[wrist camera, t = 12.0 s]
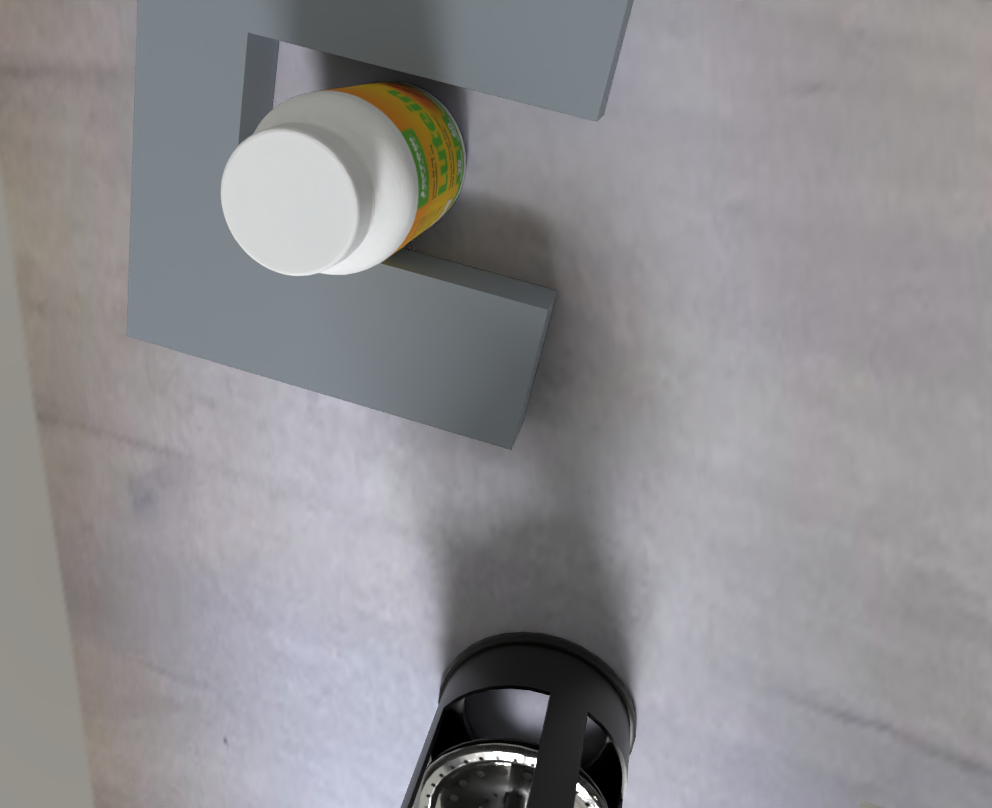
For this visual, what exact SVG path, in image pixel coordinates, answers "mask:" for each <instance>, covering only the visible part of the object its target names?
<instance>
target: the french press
mask: <svg viewBox="0 0 992 808" xmlns="http://www.w3.org/2000/svg"><path fill="white" fill-rule="evenodd" d="M510 688H511V689H521V690H531V691H534V692H538V693H542V694H546V695H550V697H549V701H548V706H547V711H546V716H545V721H544V725H543V730H542V735H541V740H540V744H537V743H533V742H529V741H524V740H519V739H510V738H481V739H476V738H475V736H474V734H473V733H472V731H471V729H470V727H469V725H468V722H467V719H466V716H465V705H464V704H465V698H466V697H468V696H471V695H473V694H476V693H480V692H484V691H488V690H494V689H510ZM438 703H439V706H438V708H437V711H436V714H435V716H434V719H433V722H432V724H431V727H430V730H429V732H428V735H427V738H426V741H425V743H424V746H423V749H422V751H421V754H420V757H419V759H418V762H417V765H416V768H415V770H414V773H413V776H412V778H411V781H410V784H409V786H408V789H407V792H406V794H405V797H404V800H403V803H402V805H401V808H412V807H413V808H622V801H623V797H624V794H625V790H626V787H627V775H628V763H629V755H630V753H631V752H632V748H633V744H634V741H635V737H636V716H635V711H634V707H633V703H632V700H631V698H630V696H629V694H628V692H627V690H626V688H625V686H624V684H623V683H622V682H621V680H620V679H619V678H618V676H617V675H616V674H615V673H614V671H613V670H612V669H611V668H610V667H608V666H607V665H606V664H605V663H604V662H603V661H602V660H600V659H599V658H598V657H597V656H595V655H593V654H592V653H590V652H589V651H587V650H585V649H584V648H582V647H580V646H578V645H576V644H573V643H571V642H569V641H566V640H564V639H561V638H557V637H553V636H549V635H545V634H537V633H525V632H520V633H508V634H501V635H497V636H494V637H490V638H486V639H484V640H482V641H480V642H478V643H476V644H474V645H472V646H470V647H469V648H468V649H466V650H465V651H464V652H463V653H461V654H460V655H459V656H458V657H457V658H456V659H455V660H454V662H453V663H452V664H451V666H450V667H449V668H448V670H447V672H446V674H445V677H444V679H443V681H442V684H441V687H440V693H439V700H438ZM587 716H588V717H589V718H591V719H592V720H593V721H594V722H595V723H596V724H597V725H599V726H600V727H601V729H602V730H603V731H604V732H605V734H606V735H607V737H606V741H605V743H604V745H603V747H602V748H601V750H600V751H599V752H598V754H597V755H596V756H595V757H594V758H593V759H592V760H590V761H588V762H587V763H585V764H584V765H582V766H580V763H581V756H582V749H583V742H584V736H585V729H586V722H587ZM428 764H429V765H428ZM427 765H428V766H427ZM426 767H427V768H426Z"/></svg>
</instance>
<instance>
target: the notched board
mask: <svg viewBox="0 0 992 808" xmlns="http://www.w3.org/2000/svg"><path fill="white" fill-rule="evenodd" d="M632 4H633V0H138V6H137V36H136V66H135V96H134V126H133V156H132V186H131V216H130V246H129V276H128V306H127V336H128V337H132V338H135V339H139V340H142V341H145V342H149V343H152V344H156V345H159V346H162V347H166V348H169V349H172V350H176V351H179V352H183V353H186V354H189V355H193V356H196V357H199V358H203V359H206V360H210V361H213V362H216V363H220V364H223V365H226V366H230V367H233V368H237V369H240V370H243V371H247V372H250V373H254V374H257V375H260V376H264V377H267V378H270V379H274V380H277V381H281V382H284V383H287V384H291V385H294V386H297V387H301V388H304V389H308V390H311V391H314V392H318V393H321V394H324V395H328V396H331V397H335V398H338V399H341V400H345V401H348V402H351V403H355V404H358V405H362V406H365V407H368V408H372V409H375V410H379V411H382V412H385V413H389V414H392V415H395V416H399V417H402V418H406V419H409V420H412V421H416V422H419V423H422V424H426V425H429V426H433V427H436V428H439V429H443V430H446V431H449V432H453V433H456V434H460V435H463V436H466V437H470V438H473V439H476V440H480V441H483V442H487V443H490V444H493V445H497V446H500V447H504V448H507V449H510V450H512V447H513V445H514V443H515V440H516V438H517V436H518V433H519V431H520V429H521V426H522V424H523V421H524V417H525V413H526V409H527V405H528V401H529V398H530V394H531V390H532V386H533V382H534V379H535V375H536V371H537V367H538V363H539V359H540V356H541V352H542V348H543V344H544V340H545V337H546V333H547V329H548V325H549V321H550V317H551V314H552V310H553V306H554V302H555V298H556V294H557V291H556V290H552V289H549V288H545V287H541V286H538V285H534V284H531V283H527V282H523V281H520V280H516V279H513V278H509V277H505V276H502V275H498V274H494V273H491V272H487V271H484V270H480V269H476V268H473V267H469V266H466V265H462V264H458V263H455V262H451V261H447V260H444V259H440V258H437V257H433V256H429V255H426V254H422V253H419V252H415V251H411V250H408V249H404V248H401V249H400V250H398V251H397V252H395V253H394V254H392V255H391V256H390V257H388V258H387V259H385V260H384V261H383V262H381V263H379V264H377V265H375V266H373V267H371V268H369V269H366V270H363V271H360V272H357V273H352V274H347V275H330V274H323V273H316V274H312V275H306V276H292V275H285V274H281V273H278V272H275V271H273V270H270V269H268V268H266V267H264V266H263V265H261V264H260V263H258V262H257V261H255V260H254V259H252V258H251V257H250V256H249V255H248V254H247V253H246V252H245V251H244V250H243V249H242V248H241V246H240V245H239V244H238V242H237V241H236V240H235V238H234V236H233V235H232V233H231V231H230V229H229V227H228V225H227V222H226V219H225V216H224V213H223V209H222V203H221V181H222V176H223V173H224V169H225V166H226V164H227V161H228V160H229V158H230V156H231V154H232V153H233V151H234V150H235V149H236V147H237V146H238V145H239V144H240V143H241V142H242V141H244V140H245V139H246V138H247V137H249V136H251V135H252V134H254V132H255V130H256V128H257V127H258V125H259V124H260V122H261V121H262V120H263V118H264V117H265V116H266V115H267V114H268V113H269V112H270V111H271V110H272V107H273V97H274V87H275V77H276V67H277V57H278V47H279V41H283V42H287V43H291V44H295V45H299V46H303V47H307V48H311V49H315V50H318V51H322V52H326V53H330V54H334V55H338V56H342V57H346V58H350V59H354V60H357V61H361V62H365V63H369V64H373V65H377V66H381V67H385V68H389V69H393V70H397V71H400V72H404V73H408V74H412V75H416V76H420V77H424V78H428V79H432V80H436V81H439V82H443V83H447V84H451V85H455V86H459V87H463V88H467V89H471V90H475V91H478V92H482V93H486V94H490V95H494V96H498V97H502V98H506V99H510V100H514V101H518V102H521V103H525V104H529V105H533V106H537V107H541V108H545V109H549V110H553V111H557V112H560V113H564V114H568V115H572V116H576V117H580V118H584V119H588V120H592V121H596V122H597V121H598V120H599V119H600V118H601V117H602V116H603V115H604V111H605V107H606V104H607V100H608V96H609V92H610V88H611V84H612V81H613V77H614V73H615V69H616V65H617V62H618V58H619V54H620V50H621V46H622V42H623V39H624V35H625V31H626V27H627V23H628V20H629V16H630V12H631V8H632Z"/></svg>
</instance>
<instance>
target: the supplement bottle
mask: <svg viewBox="0 0 992 808" xmlns="http://www.w3.org/2000/svg"><path fill="white" fill-rule="evenodd" d="M465 170H466V154H465V147H464V142H463V138H462V135H461V133H460V130H459V128H458V126H457V124H456V122H455V120H454V118H453V117H452V115H451V114H450V112H449V111H448V110H447V109H446V107H445V106H444V105H443V104H442V103H441V102H440V101H439V100H438V99H436V98H435V97H434V96H433V95H431V94H430V93H428V92H427V91H425V90H423V89H421V88H419V87H416V86H414V85H411V84H408V83H403V82H376V83H369V84H363V85H357V86H350V87H343V88H335V89H328V90H320V91H315V92H310V93H305V94H302V95H298V96H295V97H292V98H290V99H288V100H286V101H284V102H282V103H281V104H279V105H278V106H277V107H275V108H274V109H273V110H271V111H270V112H269V113H268V114H267V115H266V116H265V117H264V118H263V120H262V121H261V122H260V124H259V125H258V127H257V128H256V130H255V132H254V134H252V135H251V136H249V137H247V138H246V139H245V140H244V141H242V142H241V143H240V144H239V145H238V146H237V147H236V149H235V150H234V151H233V153H232V154H231V156H230V158H229V160H228V161H227V164H226V166H225V169H224V173H223V176H222V181H221V203H222V209H223V213H224V216H225V219H226V222H227V225H228V227H229V229H230V231H231V233H232V235H233V236H234V238H235V240H236V241H237V242H238V244H239V245H240V246H241V248H242V249H243V250H244V251H245V252H246V253H247V254H248V255H249V256H250V257H251V258H252V259H254V260H255V261H257V262H258V263H260V264H261V265H263V266H264V267H266V268H268V269H270V270H273V271H275V272H278V273H281V274H285V275H292V276H306V275H312V274H316V273H323V274H330V275H347V274H352V273H357V272H360V271H363V270H366V269H369V268H371V267H373V266H375V265H377V264H379V263H381V262H383V261H384V260H385V259H387V258H388V257H390V256H391V255H392V254H394V253H395V252H397V251H398V250H400V249H401V248H402V247H404V246H405V245H406V244H407V243H409V242H410V241H411V240H413V239H414V238H415V237H417V236H418V235H419V234H421V233H422V232H423V231H425V230H426V229H428V228H429V227H430V226H432V225H433V224H434V223H436V222H437V221H438V220H439V219H441V218H442V217H443V216H444V215H445V214H446V213H447V211H448V210H449V209H450V208H451V206H452V205H453V204H454V202H455V200H456V199H457V197H458V195H459V193H460V190H461V188H462V185H463V181H464V177H465Z"/></svg>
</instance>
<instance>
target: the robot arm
mask: <svg viewBox="0 0 992 808" xmlns="http://www.w3.org/2000/svg"><path fill="white" fill-rule="evenodd" d="M859 808H884V807H881V806H878V805H875V804H872V803H869V802H866V801H862V803H861V804H860V806H859Z"/></svg>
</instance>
